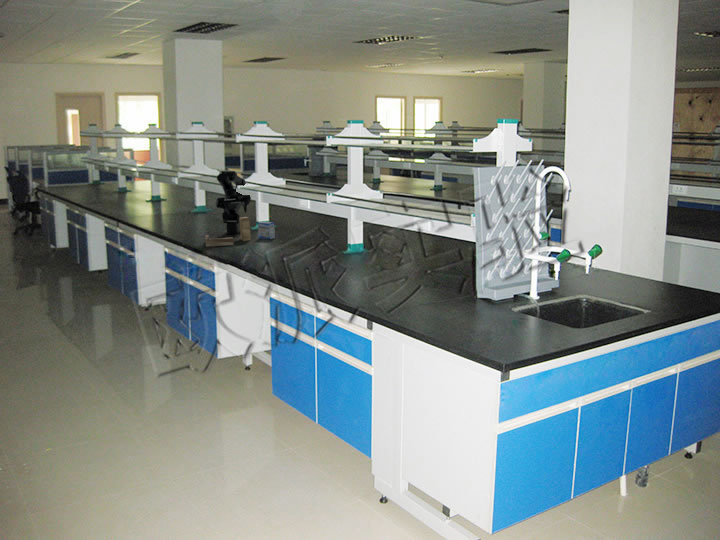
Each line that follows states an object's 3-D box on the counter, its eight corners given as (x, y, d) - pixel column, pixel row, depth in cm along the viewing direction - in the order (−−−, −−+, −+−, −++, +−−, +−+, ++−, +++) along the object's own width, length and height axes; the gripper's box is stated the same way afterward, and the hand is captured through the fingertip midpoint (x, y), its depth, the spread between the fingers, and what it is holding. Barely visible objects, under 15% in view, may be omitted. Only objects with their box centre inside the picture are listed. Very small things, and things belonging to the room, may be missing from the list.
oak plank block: (240, 239, 370) (239, 217, 368) (247, 238, 372) (246, 216, 370) (243, 240, 367) (242, 218, 364) (250, 240, 369) (249, 217, 366)
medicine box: (258, 238, 373) (257, 222, 371) (263, 237, 376) (262, 221, 374) (270, 239, 369) (269, 223, 367) (275, 238, 373) (274, 222, 371)
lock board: (206, 241, 367) (205, 235, 366) (232, 240, 370) (232, 233, 369) (205, 246, 354) (205, 239, 353) (233, 244, 356) (233, 238, 356)
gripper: (242, 198, 390) (250, 220, 383) (210, 201, 381) (218, 224, 374) (246, 185, 381) (255, 208, 375) (213, 188, 372) (222, 211, 366)
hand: (237, 213), depth 373 cm, fingers open, 9 cm apart
